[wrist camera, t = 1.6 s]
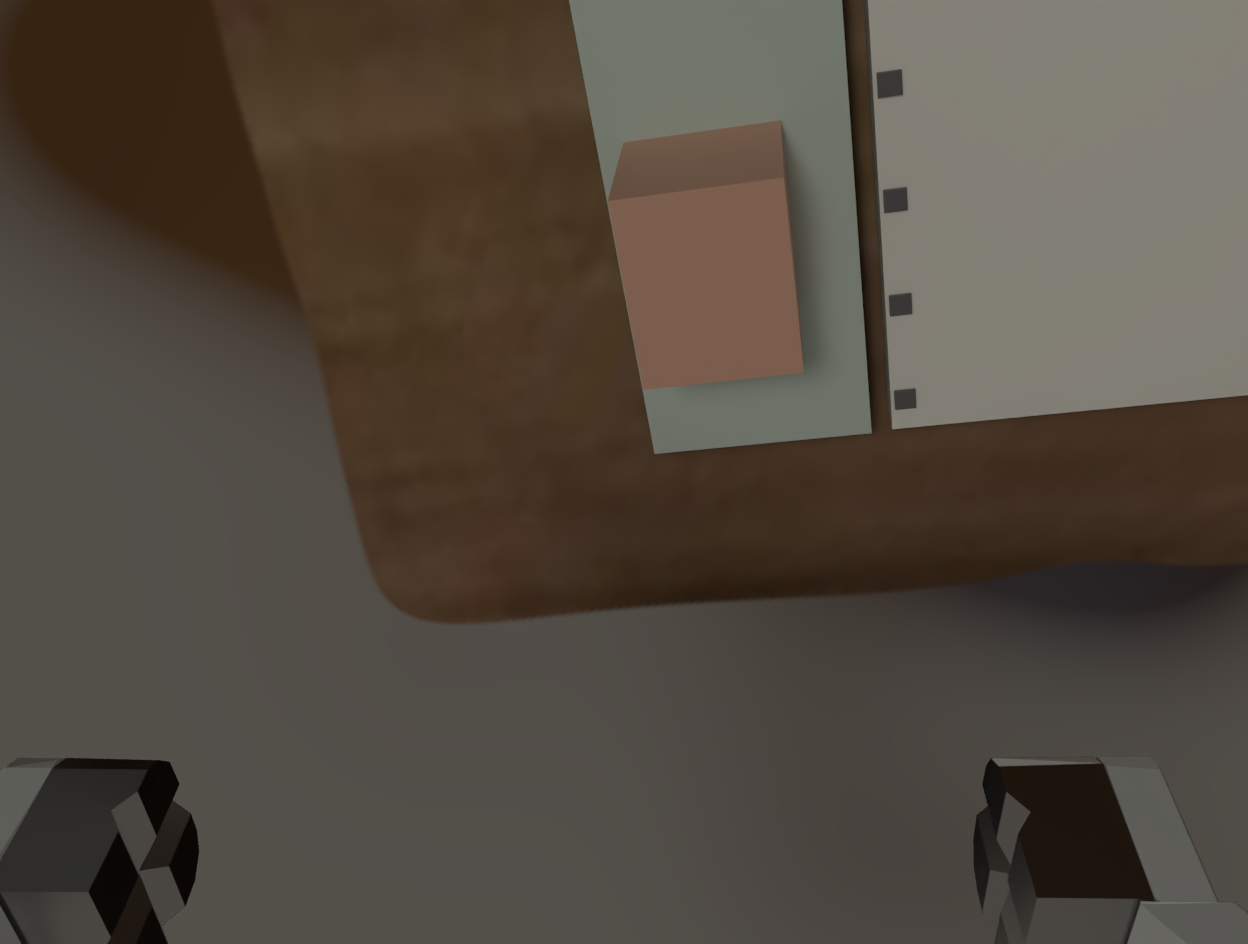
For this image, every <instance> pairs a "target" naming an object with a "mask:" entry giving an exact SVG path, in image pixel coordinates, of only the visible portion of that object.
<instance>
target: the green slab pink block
mask: <svg viewBox="0 0 1248 944" xmlns="http://www.w3.org/2000/svg"><path fill="white" fill-rule="evenodd" d="M569 3H570V8H571V13H572V19H573V24H574V29H575V34H576V40H577V45H578V50H579V56H580V61H581V66H582V72H583V77H584V82H585V87H586V93H587V98H588V103H589V109H590V114H591V119H592V125H593V130H594V135H595V140H596V146H597V151H598V156H599V162H600V167H601V172H602V178H603V183H604V188H605V193H606V199H607V204H608V209H609V215H610V220H611V225H612V230H613V236H614V241H615V246H616V252H617V257H618V262H619V268H620V273H621V278H622V283H623V289H624V294H625V299H626V305H627V310H628V315H629V321H630V326H631V331H632V336H633V342H634V347H635V352H636V358H637V363H638V368H639V374H640V379H641V384H642V389H643V395H644V400H645V405H646V411H647V416H648V421H649V426H650V432H651V437H652V442H653V448H654V453H655V454H658V453H669V452H679V451H690V450H700V449H711V448H721V447H732V446H742V445H752V444H763V443H773V442H784V441H794V440H805V439H815V438H825V437H836V436H846V435H857V434H867V433H872V431H871V416H870V401H869V387H868V372H867V357H866V343H865V328H864V314H863V299H862V284H861V270H860V255H859V240H858V226H857V211H856V197H855V182H854V167H853V153H852V138H851V123H850V109H849V94H848V79H847V65H846V50H845V36H844V21H843V6H842V0H569Z"/></svg>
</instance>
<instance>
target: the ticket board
mask: <svg viewBox="0 0 1248 944" xmlns="http://www.w3.org/2000/svg"><path fill="white" fill-rule="evenodd" d="M864 10H865V27H866V44H867V61H868V78H869V95H870V112H871V129H872V146H873V163H874V180H875V197H876V214H877V231H878V248H879V265H880V282H881V299H882V316H883V333H884V350H885V367H886V384H887V401H888V408H889V413H890V419H891V424H892V429H900V428H910V427H921V426H931V425H942V424H952V423H962V422H973V421H983V420H994V419H1004V418H1014V417H1025V416H1035V415H1046V414H1056V413H1066V412H1077V411H1087V410H1098V409H1108V408H1119V407H1129V406H1139V405H1150V404H1160V403H1171V402H1181V401H1191V400H1202V399H1212V398H1223V397H1233V396H1243V395H1248V0H864Z"/></svg>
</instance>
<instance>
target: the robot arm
mask: <svg viewBox="0 0 1248 944" xmlns="http://www.w3.org/2000/svg"><path fill="white" fill-rule="evenodd" d="M178 786H179V782H178V779H177V777H176V775H175V773H174V771H173V768H172V766H171V764H170V762H167V761H161V760H132V759H92V758H19V757H18V758H17V759H16V760H14V761H13V762H11V763H10V764H9V765H7V766H6V767H5V768H4V769H3V770H2V771H1V773H0V944H168V941H167V939H166V936H165V933H164V930H163V928H162V926H163V925H165V924H166V923H167V922H168V921H169V920H170V919H172V918H173V917H174V916H175V915H176V914H177V913H179V912H180V911H181V910H182V909H183V908H184V907H185V906H186V904H187V901H188V898H189V895H190V893H191V890H192V887H193V885H194V882H195V877H196V870H197V863H198V856H199V845H198V836H197V829H196V826H195V824H194V821H193V818H192V815H191V813H189V812H188V811H187V810H185V809H184V808H183V807H181V806H180V805H178V804H177V803H176V802H174V801H173V798H174V795H175V793H176V791H177V789H178ZM983 789H984V793H985V796H986V800H987V804H988V806H987V807H986V808H985V809H984V810H982V811H981V812H980V813H979V814H978V815H977V817H976V824H975V831H974V839H973V843H974V844H973V845H974V871H975V878H976V885H977V891H978V895H979V900H980V904H981V908H982V912H983V913H984V914H985V915H986V916H987V917H988V918H989V919H990V920H991V921H992V922H993V923H994V924H995V925H996V926H997V927H998V928H997V933H996V938H995V943H994V944H1248V912H1247V911H1245V910H1244V909H1243V908H1242V907H1240V906H1239V905H1238V904H1237V903H1234V902H1219V901H1218V899H1217V896H1216V894H1215V892H1214V889H1213V888H1212V885H1211V882H1210V880H1209V878H1208V876H1207V874H1206V871H1205V869H1204V866H1203V864H1202V862H1201V860H1200V858H1199V855H1198V853H1197V851H1196V848H1195V846H1194V844H1193V841H1192V839H1191V837H1190V835H1189V832H1188V830H1187V828H1186V825H1185V823H1184V821H1183V819H1182V816H1181V814H1180V812H1179V809H1178V807H1177V805H1176V803H1175V800H1174V798H1173V796H1172V793H1171V791H1170V789H1169V787H1168V784H1167V782H1166V780H1165V778H1164V775H1163V773H1162V771H1161V768H1160V766H1159V765H1158V764H1157V763H1156V762H1155V761H1154V760H1153V759H1152V758H1151V757H1097V758H1093V757H1025V758H1024V757H1021V758H991V759H990V761H989V762H988V764H987V766H986V769H985V774H984V779H983Z"/></svg>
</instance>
